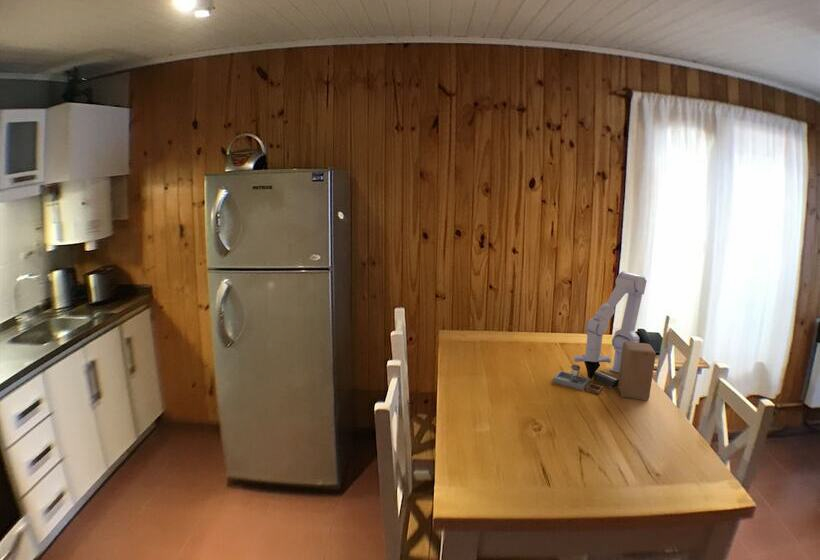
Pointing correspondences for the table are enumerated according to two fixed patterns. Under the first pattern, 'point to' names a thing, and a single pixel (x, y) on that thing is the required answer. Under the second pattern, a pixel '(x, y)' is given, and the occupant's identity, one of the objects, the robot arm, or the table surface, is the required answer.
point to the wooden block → (636, 370)
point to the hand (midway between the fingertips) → (590, 377)
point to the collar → (594, 389)
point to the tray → (565, 380)
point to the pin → (575, 373)
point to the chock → (606, 379)
